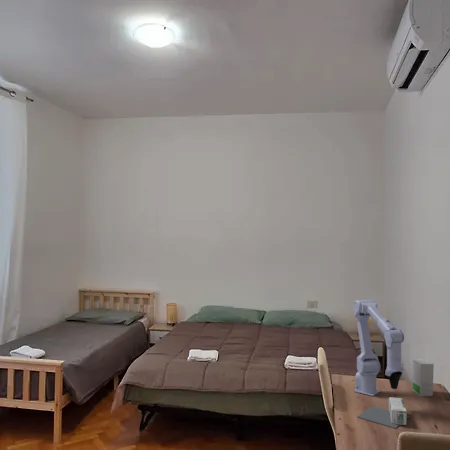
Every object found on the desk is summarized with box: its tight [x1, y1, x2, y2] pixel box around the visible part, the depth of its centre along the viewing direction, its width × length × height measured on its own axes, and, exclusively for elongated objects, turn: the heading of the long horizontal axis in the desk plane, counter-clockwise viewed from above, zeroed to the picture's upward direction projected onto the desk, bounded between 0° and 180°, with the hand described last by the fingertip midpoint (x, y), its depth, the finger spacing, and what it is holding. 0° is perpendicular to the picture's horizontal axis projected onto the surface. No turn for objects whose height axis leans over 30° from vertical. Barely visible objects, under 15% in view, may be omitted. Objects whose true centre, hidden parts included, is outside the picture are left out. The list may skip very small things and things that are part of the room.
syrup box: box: [388, 396, 407, 426], centre depth 188 cm, size 6×6×14 cm
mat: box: [356, 405, 410, 429], centre depth 190 cm, size 16×15×1 cm
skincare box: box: [411, 357, 435, 397], centre depth 217 cm, size 8×7×16 cm
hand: (394, 388), depth 198 cm, fingers closed
